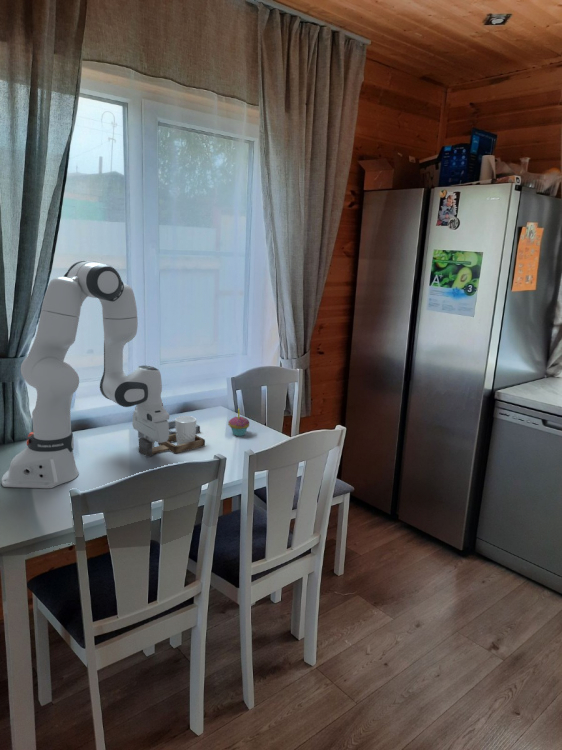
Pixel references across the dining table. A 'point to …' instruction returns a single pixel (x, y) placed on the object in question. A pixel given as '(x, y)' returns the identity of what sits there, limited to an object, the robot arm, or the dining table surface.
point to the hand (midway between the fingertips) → (150, 447)
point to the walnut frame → (169, 445)
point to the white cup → (185, 429)
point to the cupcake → (239, 425)
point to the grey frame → (171, 424)
